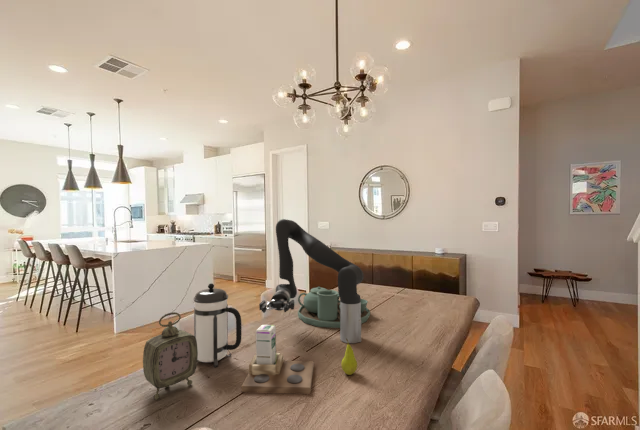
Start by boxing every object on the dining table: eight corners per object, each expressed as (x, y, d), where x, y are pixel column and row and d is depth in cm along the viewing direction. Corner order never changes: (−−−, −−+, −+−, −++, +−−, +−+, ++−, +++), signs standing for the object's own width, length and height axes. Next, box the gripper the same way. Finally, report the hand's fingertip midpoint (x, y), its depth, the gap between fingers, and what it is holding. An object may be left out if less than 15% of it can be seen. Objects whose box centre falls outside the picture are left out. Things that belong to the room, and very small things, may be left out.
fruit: (353, 379, 110) (353, 345, 110) (338, 375, 113) (338, 341, 113) (360, 372, 115) (360, 339, 115) (345, 368, 118) (345, 336, 118)
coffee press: (193, 374, 114) (193, 290, 114) (189, 356, 128) (188, 281, 128) (242, 363, 122) (241, 285, 122) (232, 347, 136) (232, 277, 136)
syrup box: (271, 371, 111) (271, 330, 111) (255, 370, 112) (255, 329, 112) (276, 364, 117) (276, 324, 117) (261, 363, 118) (261, 323, 118)
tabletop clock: (152, 404, 96) (152, 321, 96) (140, 393, 102) (140, 315, 102) (197, 384, 107) (197, 310, 107) (184, 375, 113) (184, 305, 113)
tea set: (382, 324, 165) (382, 292, 165) (307, 332, 154) (306, 298, 154) (353, 303, 203) (353, 277, 203) (291, 309, 192) (291, 281, 192)
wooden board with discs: (313, 366, 119) (313, 353, 119) (310, 393, 101) (310, 378, 101) (255, 365, 120) (255, 352, 120) (241, 392, 102) (241, 376, 102)
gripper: (264, 291, 144) (256, 300, 127) (296, 290, 143) (291, 300, 127) (265, 308, 144) (256, 319, 127) (296, 307, 143) (292, 319, 127)
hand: (274, 309), depth 127 cm, fingers open, 8 cm apart
